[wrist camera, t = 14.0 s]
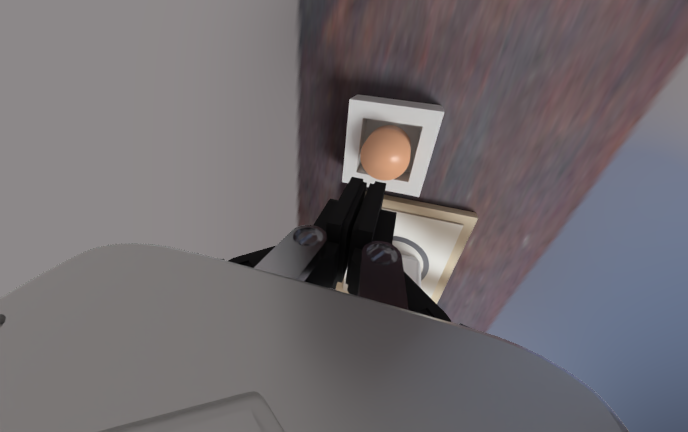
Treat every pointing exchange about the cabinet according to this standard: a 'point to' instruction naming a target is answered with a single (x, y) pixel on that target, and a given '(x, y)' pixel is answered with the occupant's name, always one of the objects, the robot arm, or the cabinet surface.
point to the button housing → (406, 115)
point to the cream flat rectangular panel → (428, 239)
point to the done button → (386, 153)
